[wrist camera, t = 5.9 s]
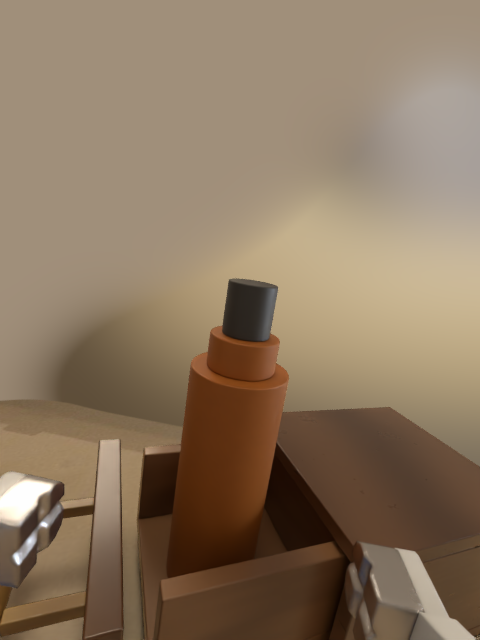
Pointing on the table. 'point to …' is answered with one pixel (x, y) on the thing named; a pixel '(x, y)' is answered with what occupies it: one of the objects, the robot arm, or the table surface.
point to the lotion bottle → (228, 436)
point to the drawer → (204, 586)
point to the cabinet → (390, 497)
